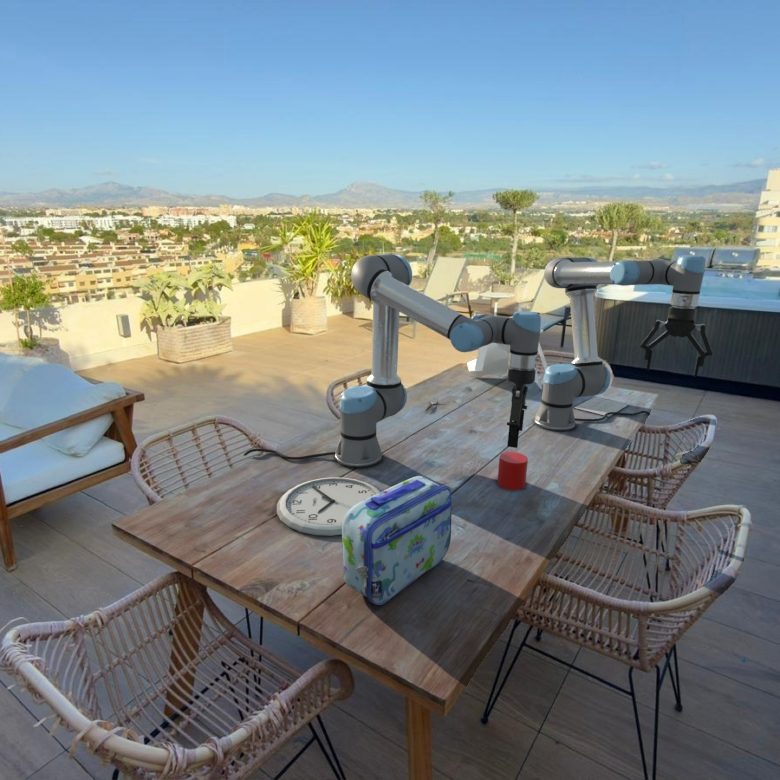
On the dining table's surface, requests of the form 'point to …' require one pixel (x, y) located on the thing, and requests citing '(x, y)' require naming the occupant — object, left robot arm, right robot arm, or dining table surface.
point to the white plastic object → (497, 360)
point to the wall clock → (322, 504)
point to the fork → (432, 403)
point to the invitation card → (601, 406)
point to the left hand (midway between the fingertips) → (515, 438)
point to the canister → (512, 470)
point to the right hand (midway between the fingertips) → (671, 373)
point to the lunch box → (395, 537)
